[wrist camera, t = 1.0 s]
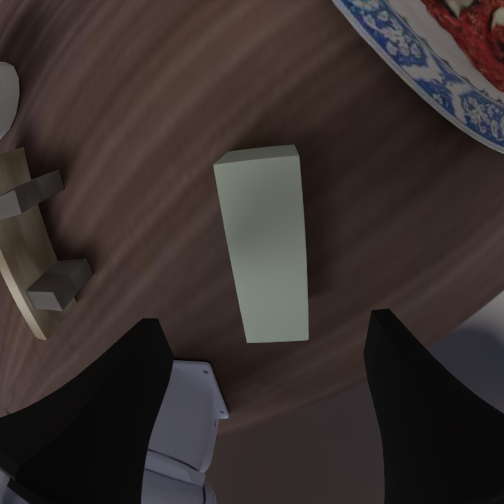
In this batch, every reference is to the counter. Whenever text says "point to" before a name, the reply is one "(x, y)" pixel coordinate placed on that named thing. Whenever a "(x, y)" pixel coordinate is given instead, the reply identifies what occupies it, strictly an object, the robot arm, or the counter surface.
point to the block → (266, 240)
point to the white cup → (8, 96)
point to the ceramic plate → (442, 55)
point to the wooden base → (34, 248)
